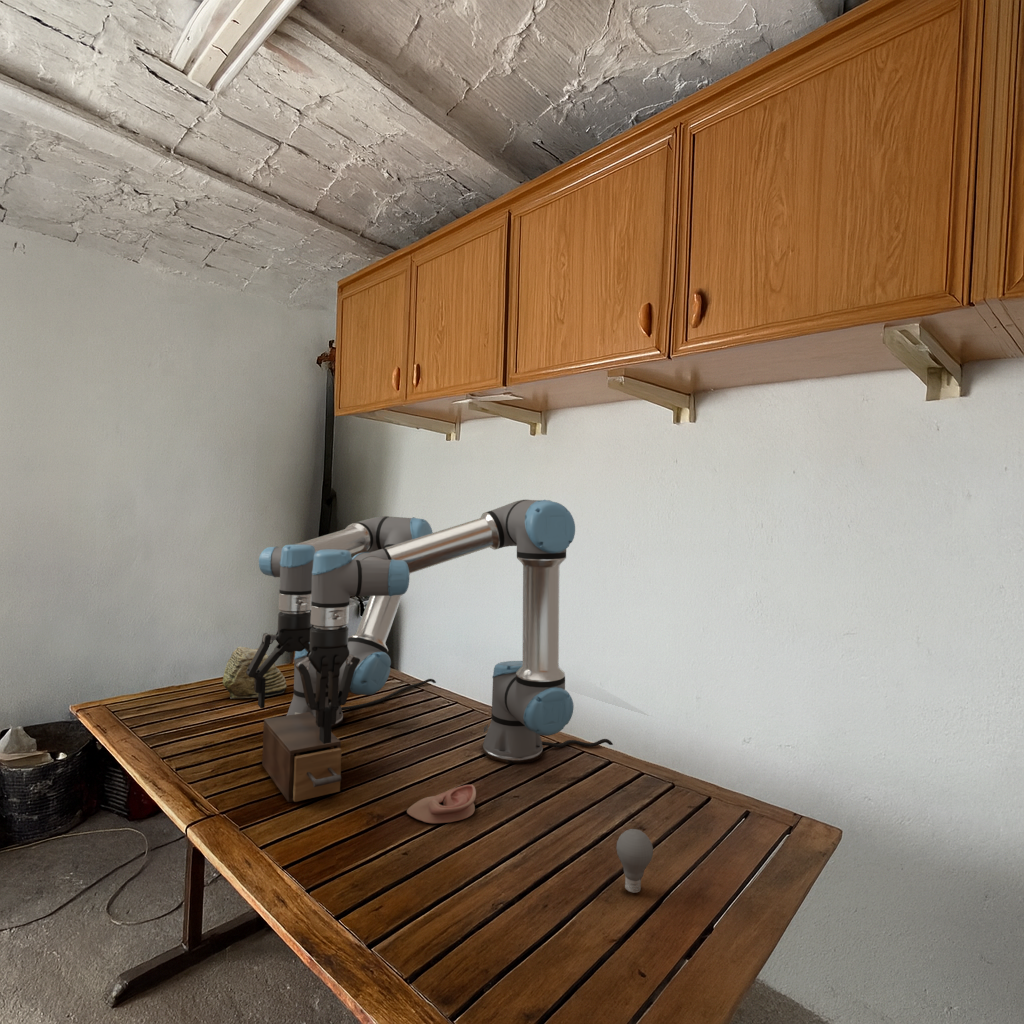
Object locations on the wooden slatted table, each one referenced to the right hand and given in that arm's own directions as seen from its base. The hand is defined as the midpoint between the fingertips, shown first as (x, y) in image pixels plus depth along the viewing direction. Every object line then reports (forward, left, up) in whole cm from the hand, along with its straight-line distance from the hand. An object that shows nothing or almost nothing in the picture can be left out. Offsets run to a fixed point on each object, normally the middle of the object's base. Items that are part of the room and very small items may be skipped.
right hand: (325, 740), depth 129 cm
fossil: (+13, -80, -14) cm, 82 cm away
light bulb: (-45, +44, -14) cm, 65 cm away
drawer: (+2, -10, -13) cm, 16 cm away
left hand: (+5, -22, +1) cm, 23 cm away
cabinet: (+4, -16, -14) cm, 21 cm away
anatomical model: (-23, +9, -14) cm, 28 cm away
